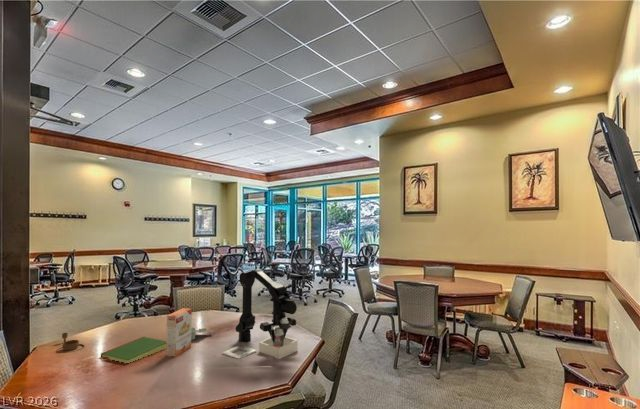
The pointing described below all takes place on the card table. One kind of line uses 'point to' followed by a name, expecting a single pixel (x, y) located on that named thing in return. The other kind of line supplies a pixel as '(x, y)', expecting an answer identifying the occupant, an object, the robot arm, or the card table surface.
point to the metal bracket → (198, 332)
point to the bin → (281, 352)
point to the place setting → (69, 344)
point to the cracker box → (178, 332)
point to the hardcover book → (135, 350)
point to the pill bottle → (278, 337)
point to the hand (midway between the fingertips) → (278, 340)
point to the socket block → (240, 347)
